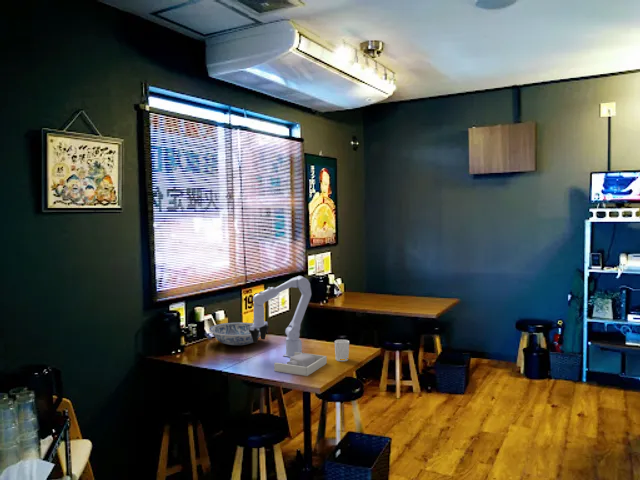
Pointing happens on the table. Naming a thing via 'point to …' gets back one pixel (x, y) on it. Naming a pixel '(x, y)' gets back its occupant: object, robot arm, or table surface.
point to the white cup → (341, 349)
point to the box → (302, 370)
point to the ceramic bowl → (233, 333)
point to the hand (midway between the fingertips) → (259, 340)
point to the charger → (301, 360)
